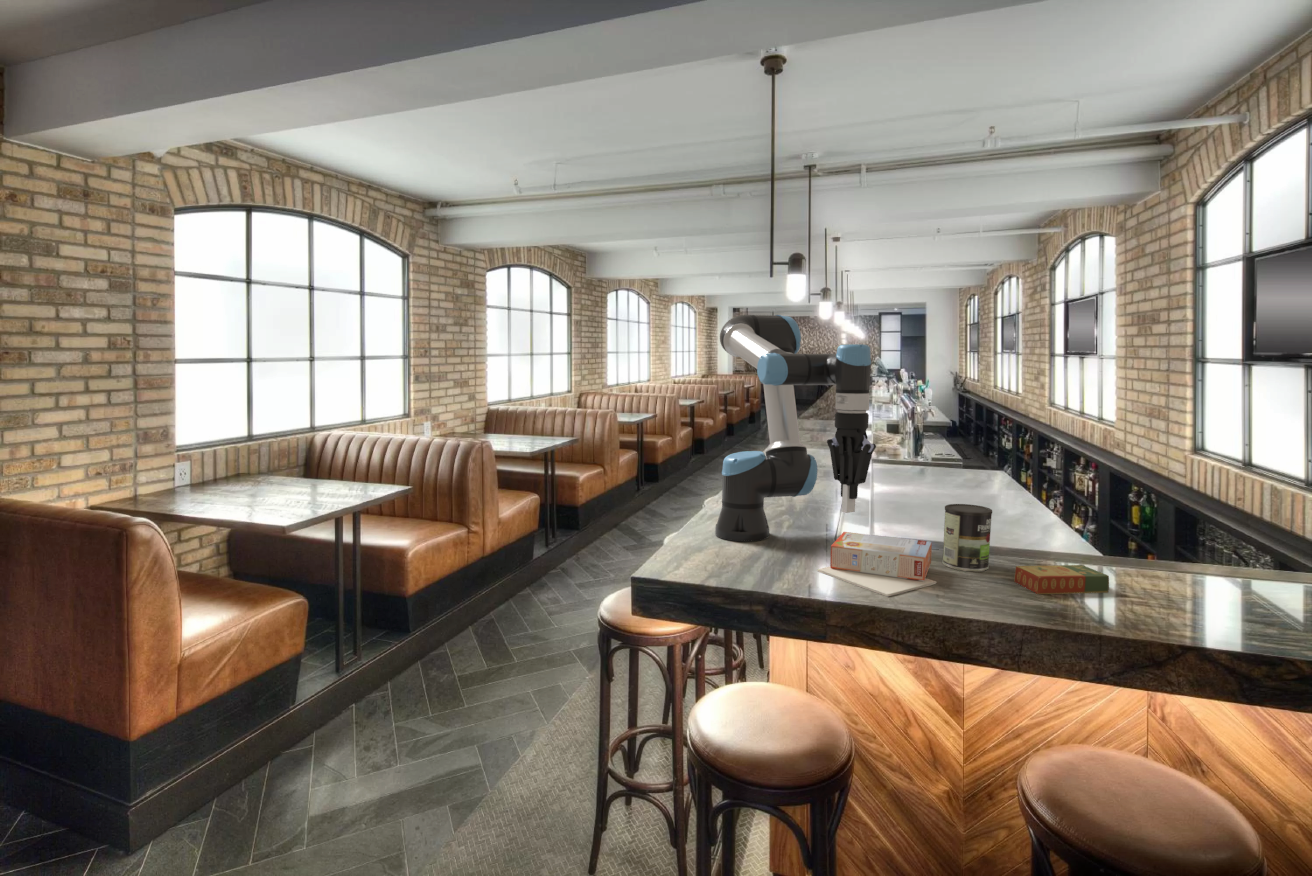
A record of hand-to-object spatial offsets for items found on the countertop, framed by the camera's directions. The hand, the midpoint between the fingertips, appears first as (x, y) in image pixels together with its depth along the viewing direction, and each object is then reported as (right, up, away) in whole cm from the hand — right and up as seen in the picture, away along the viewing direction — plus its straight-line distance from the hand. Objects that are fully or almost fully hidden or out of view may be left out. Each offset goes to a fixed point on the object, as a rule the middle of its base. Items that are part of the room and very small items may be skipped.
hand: (848, 511), depth 157 cm
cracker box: (-2, -10, +5) cm, 11 cm away
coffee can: (+29, -14, +4) cm, 32 cm away
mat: (+4, -14, -6) cm, 16 cm away
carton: (+43, -16, -11) cm, 47 cm away
